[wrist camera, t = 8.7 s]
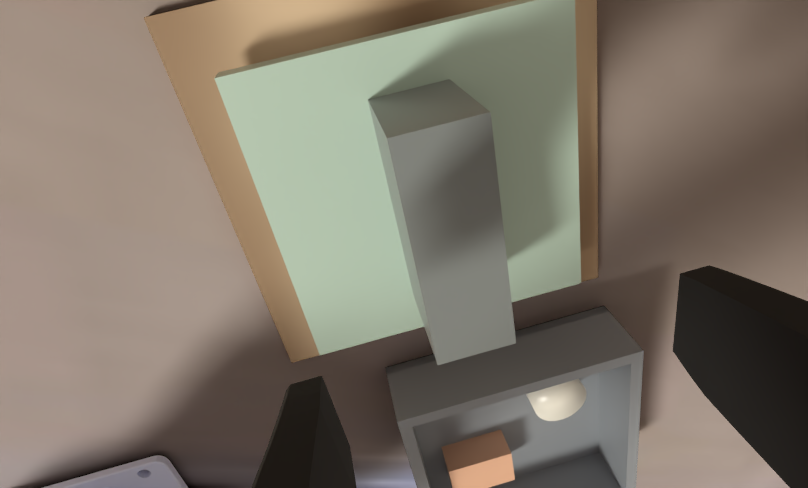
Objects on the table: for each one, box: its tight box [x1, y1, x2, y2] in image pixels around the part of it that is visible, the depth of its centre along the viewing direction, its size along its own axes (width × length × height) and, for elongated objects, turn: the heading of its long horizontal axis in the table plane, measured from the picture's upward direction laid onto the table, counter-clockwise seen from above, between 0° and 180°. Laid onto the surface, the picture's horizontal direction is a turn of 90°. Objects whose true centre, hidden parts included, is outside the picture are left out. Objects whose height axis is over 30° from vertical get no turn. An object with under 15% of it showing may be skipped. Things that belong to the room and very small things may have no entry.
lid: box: [214, 0, 581, 365], centre depth 15 cm, size 10×10×5 cm
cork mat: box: [144, 0, 598, 363], centre depth 18 cm, size 13×13×1 cm
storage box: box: [386, 306, 644, 488], centre depth 24 cm, size 10×10×3 cm
